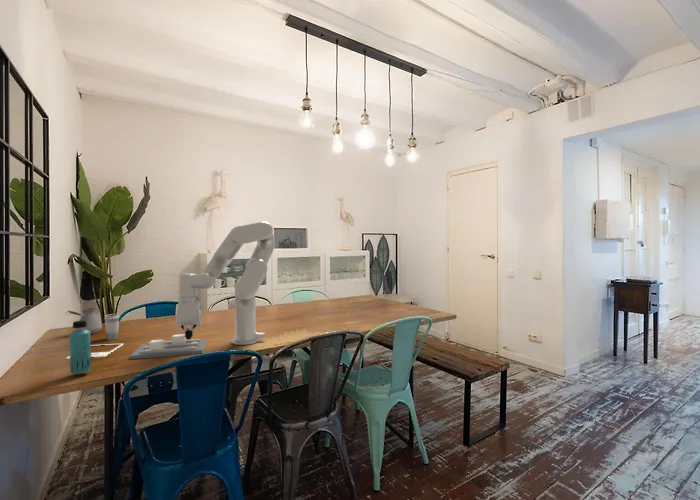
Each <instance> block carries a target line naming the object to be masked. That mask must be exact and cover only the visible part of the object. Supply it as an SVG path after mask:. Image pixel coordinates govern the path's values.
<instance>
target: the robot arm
mask: <svg viewBox="0 0 700 500" xmlns="http://www.w3.org/2000/svg"><path fill="white" fill-rule="evenodd" d="M273 233H274V229H273V226H272V224H270V222H268V221H259V222H254V223H249V224H244V225H237V226H234V227H233V228H232V229H231V230H230V232H229V233H228V234H227V236H226V237H225V238H224V240H223V241H222V242H221V244H220V245H219V246H218V248H216V249H217V250H216V251H215V252H214V254H213V255H212V258H211V260H210V261H209V262H208V264H207V265H206V266H205V268H204V269H203V270H202V272H201V273H194V272H186V273H181V274H180V276H179V302H178V303H177V309H176V321H175V322H176V324H175V325H176V326H175V327H176V328H180V329H182V330H184V334H185V340H192V338H193V335H194V332H193V330H194V329H195V328H197V327H200V326H201V325H202V322H201V320H202V310H201V309H202V308H201V302H200V301H199V300H202V297H201V296H199V290H200V289H201V290H209V289H211V288H213V287H214V286H215V283H216V280H217V279H218V278H219V276H220V275H221V274H222V272H223V271H224V269H225V268H227V266H228V265H229V264H231V262H232V261H233V260H234V258H235V257H236V256H237V254H238V253H239V251H240V250H241V249H242V247H243V246H244V244H249V243H255V242H257V243H256V246H255V248H254V250H253V252H252V254H251V256H250V257H249V259H248V261H247V263H246V265H245V269H244V271H243V273H242V275H241V277H240V278H239V279H238V280H237V281H236V282H235V284H234V308H235V309H234V328H235V329H234V330H235V331H234V338H232V340H231V343H232V344H234V345H237V346H238V345H239V346H245V345H253V344H255V343H257V342H259V341H260V340H259V338H265V337H266V333H265V332H257V330H256V294H257V292H258V291H259V289H260V287H261V285H262V283H263V281H264V279H265V277H266V275H267V272H268V263H269V261H270V259H271V257H272V254H273V252H274V250H275V245H276V244H275V243H276V239H275V235H274V234H273ZM198 289H199V290H198ZM188 325H189V326H188Z"/></svg>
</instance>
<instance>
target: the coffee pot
mask: <svg viewBox="0 0 700 500" xmlns="http://www.w3.org/2000/svg"><path fill="white" fill-rule="evenodd" d="M96 310H97V309H96V308H95V307H93V308H92V307H88V308H83V309H81V312H82V313H79V312H78V311H77V312H76V311H73V310H67V311H66V312H65V315H67V316H69V315H72V314H73V315H75V316H80V319H79V321H82V320H85V321H86V323H87V326H86V327H82V328H75V330H78V329H87V330H89V331H90V335H94V334H97V333H99V331H100V330H102V329H103V325H102V323H101V321H100V319H99V318H98V316H97V314H96ZM67 313H69V314H67Z"/></svg>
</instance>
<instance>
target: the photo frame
mask: <svg viewBox="0 0 700 500" xmlns="http://www.w3.org/2000/svg"><path fill="white" fill-rule="evenodd" d="M101 345H105V346H115V348H113V349H112V350H109V351H101V352H99V351H97V352H91V357H94V358H105V357H107V356H109V355H110V354H112V353H113V352H115V351H116V350H117V348H118V349H119V348H121V347H122V346H123V345H124V343H110V344H109V343H108V344H107V343H106V344H91V347H100V346H101ZM117 345H118V346H117ZM114 350H115V351H114ZM111 352H112V353H111ZM108 354H109V355H108ZM65 359H66V360H70V355H69V356H67V357H66V358H65Z"/></svg>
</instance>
